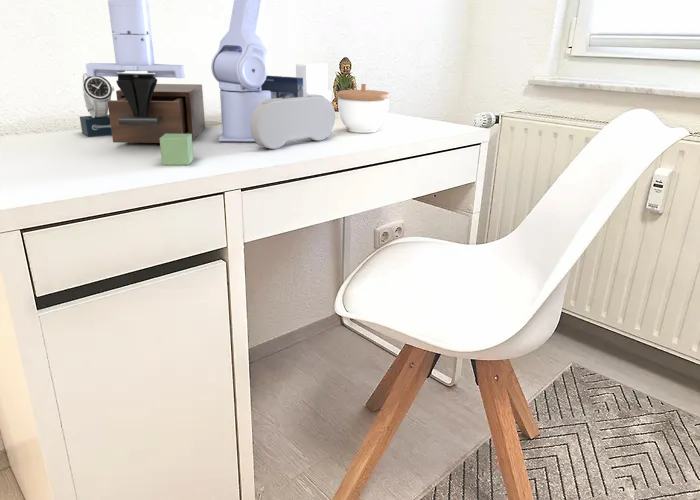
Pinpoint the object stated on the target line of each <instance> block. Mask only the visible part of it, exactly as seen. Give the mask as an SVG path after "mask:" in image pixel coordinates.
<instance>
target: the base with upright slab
mask: <svg viewBox="0 0 700 500" xmlns="http://www.w3.org/2000/svg"><path fill="white" fill-rule="evenodd" d="M295 77H297V78H303V87H302V89H303V97H307V95H323V96H325V98H327V99H329V100H330V102H331V103H332V91H331V90H330V89H329V90H328V63H318V62H316V63H315V62H314V63H300V64H299V63H298V64H295Z"/></svg>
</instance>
